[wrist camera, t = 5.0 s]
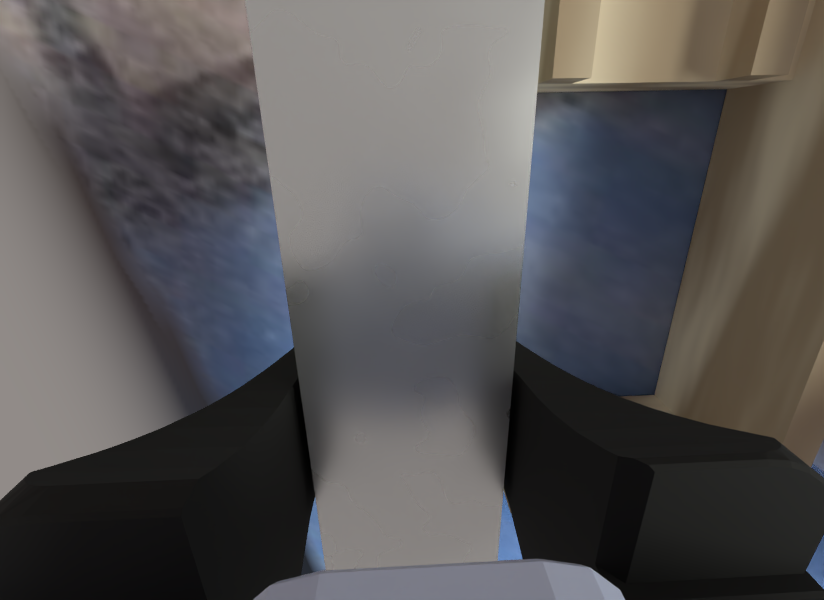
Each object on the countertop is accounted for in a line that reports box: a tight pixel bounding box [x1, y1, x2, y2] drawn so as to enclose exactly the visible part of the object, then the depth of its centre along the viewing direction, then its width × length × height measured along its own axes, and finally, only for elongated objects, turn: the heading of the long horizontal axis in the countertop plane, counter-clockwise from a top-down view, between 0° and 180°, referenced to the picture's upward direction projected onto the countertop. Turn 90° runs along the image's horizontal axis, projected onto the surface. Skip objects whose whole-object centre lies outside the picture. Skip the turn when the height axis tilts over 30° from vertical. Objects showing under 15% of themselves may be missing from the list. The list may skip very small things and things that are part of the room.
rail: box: [245, 0, 545, 570], centre depth 10 cm, size 4×22×4 cm, turn 1°
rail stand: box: [503, 0, 824, 512], centre depth 16 cm, size 10×26×7 cm, turn 1°
